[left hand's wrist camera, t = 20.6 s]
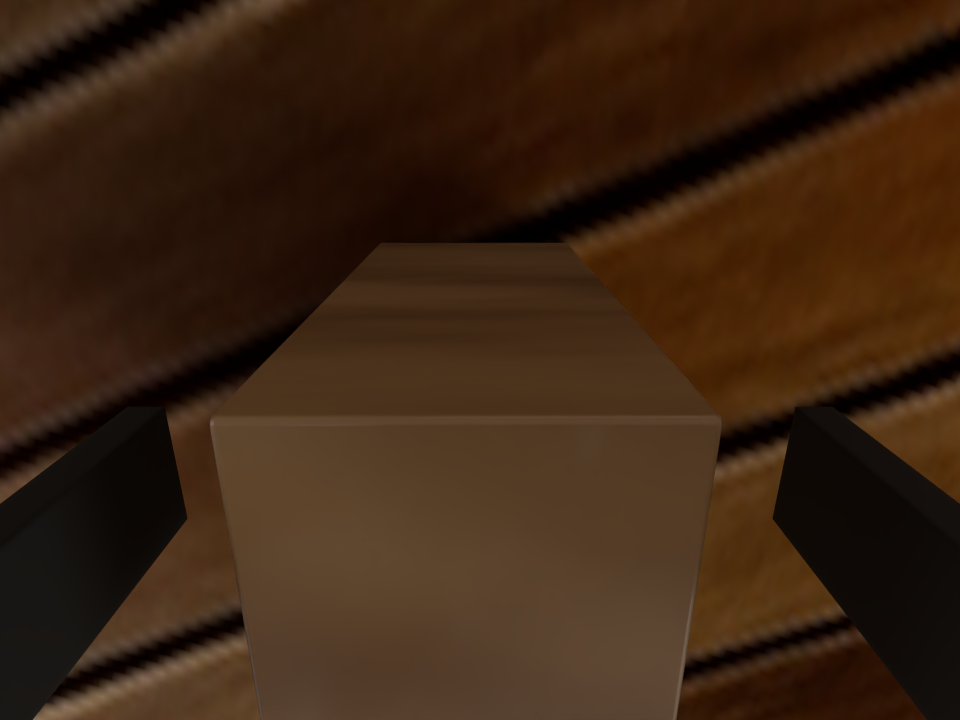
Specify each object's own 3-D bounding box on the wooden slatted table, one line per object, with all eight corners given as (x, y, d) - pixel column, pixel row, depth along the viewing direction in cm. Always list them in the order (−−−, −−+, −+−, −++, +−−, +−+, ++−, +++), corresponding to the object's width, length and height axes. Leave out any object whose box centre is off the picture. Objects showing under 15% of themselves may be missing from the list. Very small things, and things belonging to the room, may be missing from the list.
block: (555, 490, 19) (649, 909, 9) (393, 490, 19) (290, 911, 9) (568, 242, 16) (726, 417, 6) (379, 242, 16) (203, 417, 6)
